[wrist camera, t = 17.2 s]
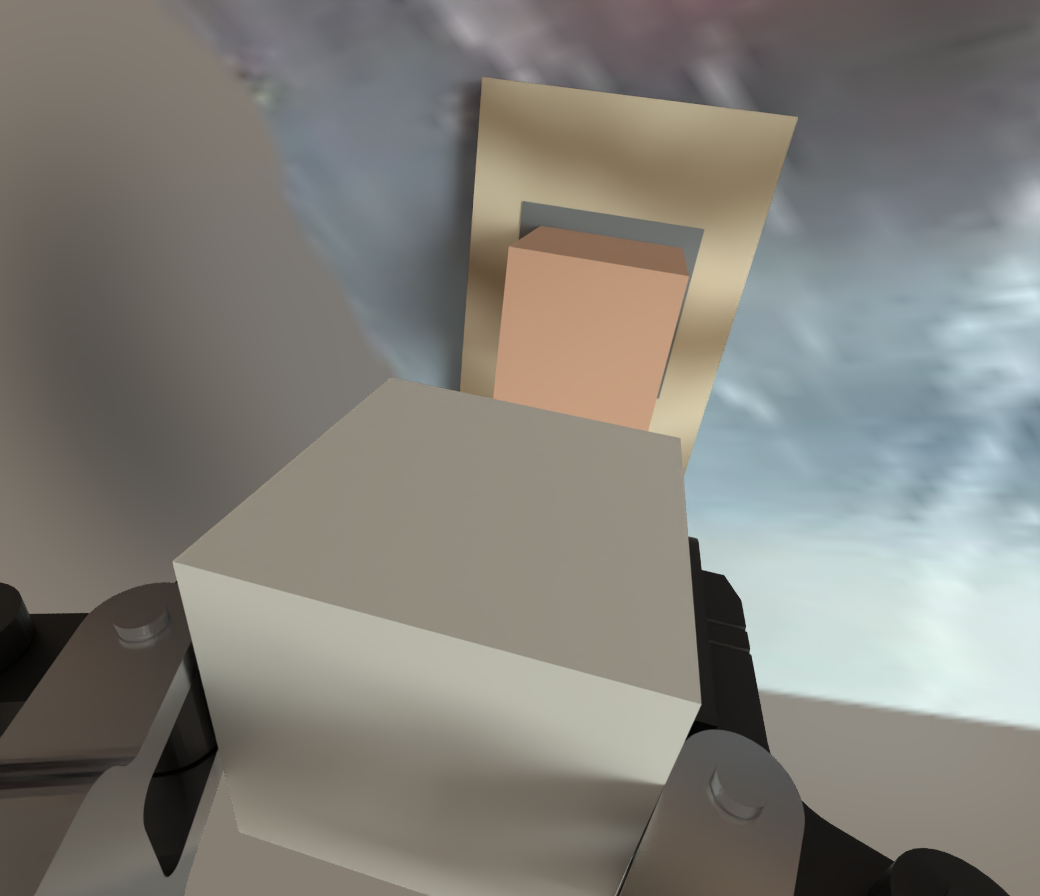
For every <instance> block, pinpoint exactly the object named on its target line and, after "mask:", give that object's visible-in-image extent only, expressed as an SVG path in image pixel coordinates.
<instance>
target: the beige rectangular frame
mask: <svg viewBox="0 0 1040 896" xmlns="http://www.w3.org/2000/svg"><path fill="white" fill-rule="evenodd" d="M797 119H798V117H794V116H786V115H778V114H770V113H762V112H754V111H746V110H738V109H731V108H723V107H715V106H707V105H699V104H691V103H683V102H675V101H667V100H660V99H652V98H644V97H636V96H628V95H620V94H612V93H604V92H596V91H589V90H581V89H573V88H565V87H557V86H549V85H541V84H533V83H526V82H518V81H510V80H502V79H494V78H486V77H482V89H481V103H480V117H479V130H478V144H477V158H476V172H475V186H474V200H473V214H472V228H471V242H470V256H469V270H468V284H467V298H466V311H465V325H464V339H463V353H462V367H461V381H460V392H463V393H468V394H473V395H478V396H482V397H487V398H492V399H493V395H494V386H495V376H496V366H497V357H498V347H499V337H500V328H501V318H502V308H503V298H504V289H505V279H506V269H507V260H508V250H509V246H510V245H512V244H514V243H515V242H517V241H518V240H520V239H521V238H523V237H524V236H526V235H528V234H529V233H531V232H532V231H534V230H535V229H537V228H538V227H540V226H547V227H553V228H559V229H566V230H572V231H578V232H585V233H591V234H597V235H604V236H610V237H616V238H622V239H629V240H635V241H641V242H648V243H654V244H660V245H667V246H673V247H679V248H682V250H683V254H684V258H685V262H686V266H687V270H688V274H689V279H688V283H687V286H686V290H685V294H684V298H683V302H682V305H681V309H680V313H679V317H678V320H677V324H676V328H675V332H674V335H673V339H672V343H671V347H670V351H669V354H668V358H667V362H666V366H665V369H664V373H663V377H662V381H661V384H660V388H659V392H658V396H657V400H656V403H655V407H654V411H653V415H652V418H651V422H650V426H649V430H648V431H649V432H654V433H658V434H663V435H668V436H673V437H677V438H681V451H682V464H683V476H684V474H685V470H686V467H687V464H688V461H689V458H690V455H691V452H692V449H693V445H694V442H695V439H696V436H697V433H698V430H699V427H700V423H701V420H702V417H703V414H704V411H705V408H706V405H707V401H708V398H709V395H710V392H711V389H712V386H713V383H714V379H715V376H716V373H717V370H718V367H719V364H720V361H721V358H722V354H723V351H724V348H725V345H726V342H727V339H728V336H729V332H730V329H731V326H732V323H733V320H734V317H735V314H736V310H737V307H738V304H739V301H740V298H741V295H742V292H743V289H744V285H745V282H746V279H747V276H748V273H749V270H750V267H751V263H752V260H753V257H754V254H755V251H756V248H757V245H758V241H759V238H760V235H761V232H762V229H763V226H764V223H765V219H766V216H767V213H768V210H769V207H770V204H771V201H772V198H773V194H774V191H775V188H776V185H777V182H778V179H779V176H780V172H781V169H782V166H783V163H784V160H785V157H786V154H787V150H788V147H789V144H790V141H791V138H792V135H793V132H794V129H795V125H796V122H797Z"/></svg>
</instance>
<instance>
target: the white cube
mask: <svg viewBox="0 0 1040 896" xmlns="http://www.w3.org/2000/svg"><path fill="white" fill-rule="evenodd" d="M173 565H174V570H175V574H176V577H177V582H178V586H179V590H180V594H181V598H182V602H183V606H184V610H185V614H186V618H187V623H188V627H189V631H190V635H191V639H192V643H193V647H194V651H195V655H196V659H197V663H198V667H199V671H200V675H201V680H202V684H203V688H204V692H205V696H206V700H207V704H208V708H209V712H210V716H211V720H212V724H213V728H214V732H215V736H216V741H217V745H218V749H219V753H220V757H221V761H222V765H223V769H224V773H225V777H226V781H227V785H228V789H229V793H230V798H231V802H232V806H233V810H234V813H235V818H236V822H237V826H238V830H239V832H241V833H244V834H247V835H250V836H253V837H256V838H259V839H262V840H265V841H268V842H271V843H274V844H277V845H280V846H283V847H286V848H288V849H292V850H295V851H298V852H300V853H303V854H307V855H309V856H312V857H315V858H318V859H321V860H324V861H327V862H330V863H333V864H336V865H339V866H342V867H345V868H349V869H352V870H354V871H357V872H360V873H363V874H366V875H369V876H372V877H375V878H378V879H381V880H384V881H387V882H390V883H393V884H396V885H399V886H402V887H405V888H408V889H411V890H414V891H417V892H420V893H423V894H426V895H429V896H614V895H615V893H616V891H617V889H618V886H619V884H620V882H621V880H622V878H623V875H624V873H625V871H626V869H627V867H628V864H629V862H630V860H631V858H632V856H633V854H634V851H635V849H636V847H637V845H638V843H639V840H640V838H641V836H642V834H643V832H644V829H645V827H646V825H647V823H648V821H649V818H650V816H651V814H652V812H653V810H654V807H655V805H656V803H657V801H658V799H659V796H660V794H661V792H662V790H663V788H664V785H665V783H666V781H667V779H668V777H669V774H670V772H671V770H672V768H673V766H674V763H675V761H676V759H677V757H678V755H679V753H680V750H681V748H682V746H683V744H684V742H685V739H686V737H687V735H688V733H689V731H690V728H691V726H692V724H693V722H694V720H695V717H696V715H697V713H698V711H699V709H700V706H701V693H700V680H699V667H698V654H697V642H696V629H695V616H694V604H693V591H692V578H691V565H690V553H689V540H688V527H687V515H686V502H685V489H684V476H683V464H682V451H681V438H677V437H673V436H668V435H663V434H658V433H654V432H649V431H644V430H639V429H635V428H630V427H625V426H620V425H616V424H611V423H606V422H601V421H596V420H592V419H587V418H582V417H577V416H573V415H568V414H563V413H558V412H554V411H549V410H544V409H539V408H535V407H530V406H525V405H520V404H516V403H511V402H506V401H501V400H497V399H492V398H487V397H482V396H478V395H473V394H468V393H463V392H459V391H454V390H449V389H444V388H439V387H435V386H430V385H425V384H420V383H416V382H411V381H406V380H401V379H397V378H392V377H391V378H389V379H388V380H387V381H386V382H385V383H383V384H382V385H381V386H380V387H379V388H378V389H376V390H375V391H374V392H373V393H372V394H370V395H369V396H368V397H367V398H366V399H364V400H363V401H362V402H361V403H360V404H358V405H357V406H356V407H355V408H354V409H353V410H351V411H350V412H349V413H348V414H347V415H346V416H344V417H343V418H342V419H341V420H340V421H338V422H337V423H336V424H335V425H334V426H332V427H331V428H330V429H329V430H328V431H327V432H325V433H324V434H323V435H322V436H321V437H319V438H318V439H317V440H316V441H315V442H314V443H312V444H311V445H310V446H309V447H308V448H307V449H305V450H304V451H303V452H302V453H300V454H299V455H298V456H297V457H296V458H295V459H293V460H292V461H291V462H290V463H289V464H287V465H286V466H285V467H284V468H283V469H281V470H280V471H279V472H278V473H277V474H276V475H275V476H273V477H272V478H271V479H270V480H268V481H267V482H266V483H265V484H264V485H263V486H261V487H260V488H259V489H258V490H257V491H255V492H254V493H253V494H252V495H251V496H249V497H248V498H247V499H246V500H245V501H244V502H243V503H241V504H240V505H239V506H238V507H236V508H235V509H234V510H233V511H232V512H231V513H229V514H228V515H227V516H226V517H225V518H224V519H222V520H221V521H220V522H219V523H218V524H216V525H215V526H214V527H213V528H212V529H211V530H209V531H208V532H207V533H206V534H204V535H203V536H202V537H201V538H200V539H199V540H197V541H196V542H195V543H194V544H193V545H191V546H190V547H189V548H188V549H187V550H186V551H185V552H183V553H182V554H181V555H180V556H178V557H177V558H176V559H175V560H174V561H173Z"/></svg>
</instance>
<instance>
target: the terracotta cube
mask: <svg viewBox="0 0 1040 896" xmlns="http://www.w3.org/2000/svg"><path fill="white" fill-rule="evenodd" d="M688 279H689V274H688V270H687V266H686V262H685V258H684V254H683V250H682V248H679V247H673V246H667V245H660V244H654V243H648V242H641V241H635V240H629V239H622V238H616V237H610V236H604V235H597V234H591V233H585V232H578V231H572V230H566V229H559V228H553V227H547V226H540V227H538V228H537V229H535V230H534V231H532V232H531V233H529V234H528V235H526V236H524V237H523V238H521V239H520V240H518V241H517V242H515V243H514V244H512V245H510V246H509V250H508V260H507V269H506V279H505V289H504V298H503V308H502V318H501V328H500V337H499V347H498V357H497V366H496V376H495V386H494V395H493V399H497V400H501V401H506V402H511V403H516V404H520V405H525V406H530V407H535V408H539V409H544V410H549V411H554V412H558V413H563V414H568V415H573V416H577V417H582V418H587V419H592V420H596V421H601V422H606V423H611V424H616V425H620V426H625V427H630V428H635V429H639V430H644V431H648V430H649V426H650V422H651V418H652V415H653V411H654V407H655V403H656V400H657V396H658V392H659V388H660V384H661V381H662V377H663V373H664V369H665V366H666V362H667V358H668V354H669V351H670V347H671V343H672V339H673V335H674V332H675V328H676V324H677V320H678V317H679V313H680V309H681V305H682V302H683V298H684V294H685V290H686V286H687V283H688Z"/></svg>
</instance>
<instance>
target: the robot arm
mask: <svg viewBox="0 0 1040 896" xmlns="http://www.w3.org/2000/svg"><path fill="white" fill-rule="evenodd" d="M688 540H689V553H690V565H691V578H692V591H693V604H694V616H695V629H696V642H697V654H698V667H699V680H700V693H701V706H700V709H699V711H698V713H697V715H696V717H695V720H694V722H693V724H692V726H691V728H690V731H689V733H688V735H687V737H686V739H685V742H684V744H683V746H682V748H681V750H680V753H679V755H678V757H677V759H676V761H675V763H674V766H673V768H672V770H671V772H670V774H669V777H668V779H667V781H666V783H665V785H664V788H663V790H662V792H661V794H660V796H659V799H658V801H657V803H656V805H655V807H654V810H653V812H652V814H651V816H650V818H649V821H648V823H647V825H646V827H645V829H644V832H643V834H642V836H641V838H640V840H639V843H638V845H637V847H636V849H635V851H634V854H633V857H632V859H631V861H630V863H629V866H628V868H627V870H626V873H625V875H624V878H623V880H622V883H621V885H620V888H619V890H618V892H617V895H616V896H1009V895H1008V894H1007V893H1006V892H1005V891H1004V890H1003V889H1002V888H1001V887H1000V886H999V885H998V884H996V883H995V882H994V881H993V880H992V879H991V878H989V877H988V876H987V875H985V874H984V873H982V872H981V871H980V870H978V869H977V868H975V867H974V866H972V865H970V864H969V863H967V862H965V861H964V860H962V859H960V858H958V857H955V856H953V855H951V854H948V853H946V852H942V851H939V850H935V849H928V848H917V849H912V850H909V851H906V852H905V853H903V854H902V855H901V856H899V857H898V858H897V859H896V860H895V862H894V861H892V860H891V859H889V858H887V857H886V856H884V855H882V854H881V853H879V852H877V851H876V850H874V849H872V848H870V847H869V846H867V845H865V844H864V843H862V842H860V841H859V840H857V839H855V838H854V837H852V836H850V835H848V834H847V833H845V832H843V831H842V830H840V829H838V828H837V827H835V826H833V825H832V824H830V823H829V822H827V821H826V820H824V819H823V818H821V817H820V816H819V815H817V814H816V813H815V812H814V811H813V810H811V809H810V808H809V807H808V806H807V805H806V804H805V803H804V802H803V801H802V800H801V797H800V795H799V792H798V790H797V788H796V786H795V784H794V782H793V781H792V779H791V778H790V776H789V774H788V773H787V772H786V770H785V769H784V768H783V767H782V765H781V764H780V763H779V762H778V761H777V760H776V759H775V758H774V757H773V756H772V755H771V753H770V750H769V746H768V742H767V737H766V731H765V726H764V721H763V715H762V710H761V704H760V699H759V695H758V688H757V683H756V678H755V672H754V667H753V661H752V656H751V654H749V652H750V645H749V640H748V634H747V632H745V629H746V624H745V618H744V613H743V607H742V602H741V599H740V598H739V596H738V595H737V593H736V592H735V591H734V589H733V588H732V586H731V585H730V583H729V582H728V580H727V579H726V577H725V576H724V575H721V574H716V573H712V572H708V571H704V570H702V569H701V560H700V550H699V542H698V539H697V538H693V537H688ZM222 772H223V765H222V761H221V757H220V753H219V749H218V745H217V741H216V736H215V732H214V728H213V724H212V720H211V716H210V712H209V708H208V704H207V700H206V696H205V692H204V688H203V684H202V680H201V675H200V671H199V667H198V663H197V659H196V655H195V651H194V647H193V643H192V639H191V635H190V631H189V627H188V623H187V618H186V614H185V610H184V606H183V602H182V598H181V594H180V590H179V586H178V582H177V581H176V582H175V583H170V582H161V583H151V584H145V585H142V586H137V587H134V588H131V589H128V590H126V591H123V592H121V593H119V594H117V595H114V596H113V597H111V598H109V599H107V600H106V601H104V602H103V603H101V604H100V605H99V606H97V607H96V608H95V609H94V610H93V611H91V612H90V613H68V614H66V613H62V614H29V613H28V611H27V608H26V606H25V604H24V602H23V600H22V598H21V595H20V593H19V592H18V590H16V589H15V588H14V587H12V586H10V585H8V584H4V583H0V896H184V894H185V889H186V884H187V881H188V877H189V874H190V871H191V868H192V865H193V862H194V859H195V855H196V853H197V849H198V846H199V843H200V840H201V837H202V834H203V831H204V828H205V825H206V822H207V818H208V816H209V812H210V809H211V806H212V803H213V800H214V797H215V794H216V791H217V788H218V785H219V782H220V779H221V775H222Z"/></svg>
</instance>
